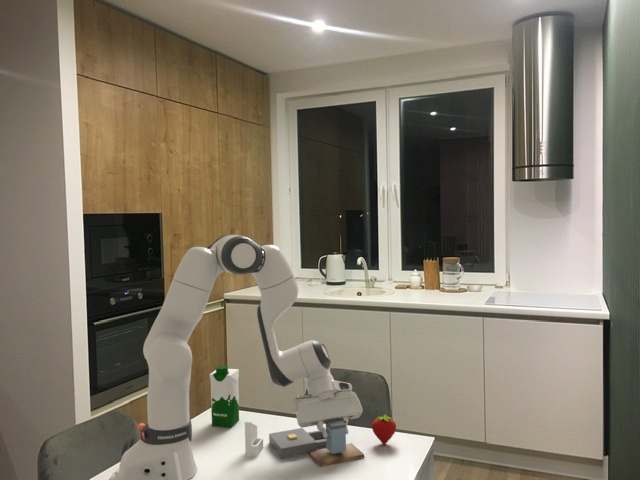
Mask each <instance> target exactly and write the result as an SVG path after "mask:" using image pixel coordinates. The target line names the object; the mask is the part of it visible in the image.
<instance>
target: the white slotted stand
mask: <svg viewBox="0 0 640 480" xmlns="http://www.w3.org/2000/svg"><path fill="white" fill-rule="evenodd" d="M244 439H245V441H244V443H245V444H244V445H245V448H244V449H245V456H246V457H247V456H248V457H258V456H259V455H260V454H261V453H262V451H263V449H264V438H263V437H258V426H257V425H256V424H254V423H253V422H251V421H250V422H249V421H247V422H246V421H245V422H244Z"/></svg>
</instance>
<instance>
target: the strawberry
mask: <svg viewBox="0 0 640 480" xmlns="http://www.w3.org/2000/svg"><path fill="white" fill-rule="evenodd" d="M396 429H397V423H396V422H395V421H394V419H393V418H392V417H391V416H387V414H386V413H384V415H382V416H377V417H375V419H373V421H372V423H371V430H372V432H373V434H374V435H375V436H376V437H377V439H378V440H379V441H380V442H381V444H383V445H385V444H387V443H388V442H389V441H390V440H391V439H392V437H393V436H394V434H395V433H396Z"/></svg>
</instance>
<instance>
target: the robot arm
mask: <svg viewBox="0 0 640 480" xmlns="http://www.w3.org/2000/svg"><path fill="white" fill-rule="evenodd" d="M224 272H227V273H229V274H234V275H247V274H250V275H252V277H253V278H254V280H255V282H256V285H257V288H258V290H259V293H260V303H259V305H258V306H257V308H256V314H257V316H256V317H257V321H258V327H259V331H260V335H261V340H262V346H263V349H264V353H265V358H266V363H267V372H268V375H269V379H270V380H271V381H272V383H273V384H275V385H277V386H281V387H284V388H285V387H287V386H290V385H291V384H293V383H294V382H296V381H298V380H301V379H305V382H306V389H307V392H308V393H307V394H304V395H298V396H297V395H296V396H295V398H293V400H292V405H293V409H294V410H295V414H296V415H295V416H296V421H297V425H298V426H299V428H303V429H304V428H308V427H309V428H310V427H314V426H316V428H317V429H318V431H319V430H320V431H321V432H322V433H323V436H324V437H323V438H324V439H326V438H329V437H330V433H329V430H326V427H324V425H326V421H330V420H336V419H340V420H341V421H342V422H344V423H345V424H346V435H348V434H349V429H348V425H349V424H348V423H349V421H350V420H354V419H359V418H360V417H361V415H362V414H363V411H364V409H363V407H362V404H361V401H360V399H359V397H358V396H357V393H356V392H355V391H352V390H353V386H352V384H351V383H349V382H344V381H340V380H339V381H338V380H335V379H334V376H333V375H332V373H331V362H332V361H331V360H330V357H329V353H328V350H327V348H326V346H325V344H324V343H322V342H320V341H319V340H315V339H311V340H307V341H305V342H302V343H300V344H298V345H296V346H293V347H291V348H289V349H286V350H280V349H279V347H278V346H279V345H278V341H277V337H276V333H275V329H274V327H275V324H276V323H277V321H278V320H279V319H280V317H281V316H283V315H284V314H285V313H286V312H287V311H288V310H289V309H290V308H291V307H292V306H293V305H294V303H295V302H296V300H297V297H298V295H299V287H298V282H297V280H296V277H295V274H294V272H293V269H292V268H291V266H290V263H289V262H288V260H287V258H286V257H285V255H284V253H283V252H282V250H281V249H280V248H279V247H278V246H277V245H274V244H265V245H259V244H258V243H257V242H255V241H254V240H253V239H251V238H249V237H247V236H244V235H240V234H226V235H222V236H219V238H217V239H216V240H215V241H213V243H212V244H210V245H209V246H207V247H204V246H203V247H202V246H193V247H191V248H189V249H188V250H186V252H185V254H184V255H183V256H182V259H181V261H180V262H179V265H178V267H177V268H176V270H175V272H174V276H173V278H172V281H171V284H170V286H169V287H168V291H167V293H166V296H165V298H164V301H163V304H162V306H161V308H160V310H159V312H158V315H157V316H156V318H155V320H154V322H153V324H152V326H151V327H150V330H149V333H148V334H147V336H146V338H145V340H144V343H143V348H142V351H143V353H142V354H143V356H144V359H145V360H146V362H147V366H148V388H147V396H146V403H147V404H146V405H147V408H146V409H147V424H145V423H144V422H142V423H139V424H138V425H137V431H138V432H139V437H140V439H139V440H138V441H137V442H136V443H134V444H133V445H132V446H131V447H130V448H129V449H127V450H126V451H125V452H124V453H123V455H122V457H121V459H120V463H119V467H118V468H117V469H116V470H115V471H114V472H113V473H112V474H111V477H110V480H191V478H193V477H194V476H195V475H196V474H197V473H198V472H197V471H198V468H197V465H196V462H195V458H194V454H193V446H192V440H193V425H192V420H191V419H190V418H191V416H190V385H191V380H192V377H191V376H192V365H193V353H192V350H191V347H190V345H189V344H188V343H189V340H190V338H191V335H192V334H193V332H194V330H195V329H196V327H197V325H198V324H199V322H200V321H201V320H202V318H203V315H204V312H205V311H206V310H205V309H206V307H207V304H208V302H209V299H210V296H211V295H212V294H211V293H212V290H213V287H214V284H215V282H216V281H217V278H218V277H219V276H220V275H221V274H222V273H224Z"/></svg>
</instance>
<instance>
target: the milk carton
mask: <svg viewBox="0 0 640 480" xmlns="http://www.w3.org/2000/svg"><path fill="white" fill-rule="evenodd" d="M239 374H240V369H238V368H229V366H227V365H219V366H216V367H215V370H214V371H213V372H210V374H209V380H210V402H211V403H210V405H211V409H210V412H211V426H212V427H215V428H216V427H217V428H228V429H229V428H230V429H231V428H232V427H234V426H235V425H236V424H237V423H238V422H239V421H240V407H239V406H240V401H239V400H240V398H239V395H240V394H239V392H240V391H239V377H240V375H239Z"/></svg>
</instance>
